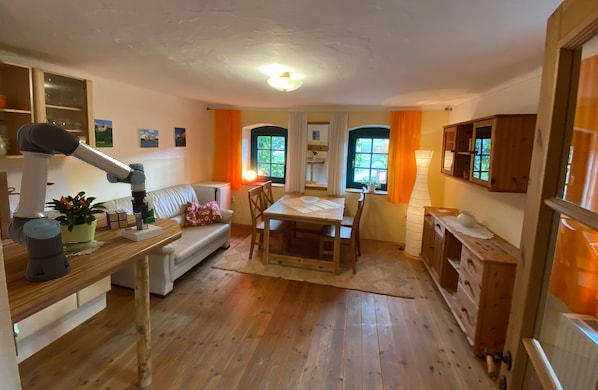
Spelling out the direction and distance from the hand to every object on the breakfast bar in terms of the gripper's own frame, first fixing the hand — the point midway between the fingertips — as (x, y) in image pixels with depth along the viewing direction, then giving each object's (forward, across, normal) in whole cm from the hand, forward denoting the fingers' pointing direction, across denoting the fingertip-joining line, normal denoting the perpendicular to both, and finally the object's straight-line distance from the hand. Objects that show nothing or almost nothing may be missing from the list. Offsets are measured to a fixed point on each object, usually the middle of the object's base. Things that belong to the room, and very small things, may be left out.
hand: (142, 228), depth 180 cm
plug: (+1, 0, 0) cm, 1 cm away
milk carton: (+5, +22, -17) cm, 28 cm away
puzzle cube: (+5, +30, -1) cm, 30 cm away
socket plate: (+4, 0, 0) cm, 4 cm away
